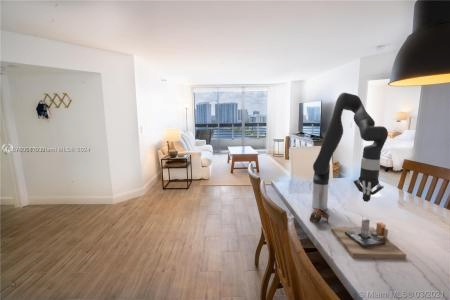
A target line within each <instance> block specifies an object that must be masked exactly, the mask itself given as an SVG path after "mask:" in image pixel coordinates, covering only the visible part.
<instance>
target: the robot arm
mask: <svg viewBox="0 0 450 300" xmlns="http://www.w3.org/2000/svg"><path fill="white" fill-rule="evenodd" d="M344 110H345V111H351V112H352V113H353V114H354V115H353V122H354V123H355V124H356V126H357V127H358V129H359V134H360V138H361V139H362V140H363V141H365V142H372V144H370V145H366V146H363V149H362V158H361V163H360V170H359V171H360V172H359V177H358V179H356V180H353V184H354V185H355V186H356V188H357V190H358V191H359V192H360V193H362V200H363V202H365V203H368V202H369V201H371V196H374V195H376V194H377V193H379V191H381V190H383V189H384V185H381V184H380V181H379V175H380V168H381V156H382V155H381V154H382V149H383V148H384V145H385V143H386V142H387V139H388V136H389V131H388V129H387V128H386V127H385V126H381V125H380V126H379V125H377V126H376V123H375V120H374V119H373V118H372V116H371V115H370V114H369V113H368V111H366V109H365V106H364V104H363V102H362V100H361V98H360V97H359V96H358V95H357V94H353V93H349V92H342V93H340V94H339V95H338V96H337V99H336V101H335V105H334V108H333V110H332V111H333V112H332V115H331V119H330V121H329V124H328V127H327V128H326V131H325V134H324V137H323V140H322V143H321V146H320V150H319V153H318V155H317V157H316V159H315V161H314V163H313V165H312V169H313V172H314V174H313V180H312V202H311V207H312V208H313V209H314V210H317V209H321V210H322V211H326V210H327V209H328V202H329V201H328V200H329V198H328V197H329V181H330V172H331V169H330V168H331V164H330V162H331V159H332V156H333V154H334V153H335V151H336V150H337V148H338V146H339V144H340V142H341V139H342V137H343V135H344V127H343V122H342V116H343V111H344ZM375 187H376V189H374V188H375ZM373 189H374V190H373Z"/></svg>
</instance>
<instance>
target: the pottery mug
mask: <svg viewBox="0 0 450 300" xmlns="http://www.w3.org/2000/svg"><path fill="white" fill-rule="evenodd" d="M329 217H330V215H329V214H328V213H326V212H325V210H321V209H314V210H313V211H312V213H311V214H310V216H309V221H310V222H311V223H312V224H314V223H315V224H320V221H321V220H322V218H324V219H325V220H327V221H326V224H328V222H329Z"/></svg>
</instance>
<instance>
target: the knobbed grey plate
mask: <svg viewBox="0 0 450 300" xmlns="http://www.w3.org/2000/svg"><path fill="white" fill-rule="evenodd" d="M386 226H387V225H386V224H385V223H383V222H377V223H376V228H375V229H376V232H370V231H369V234H368V238H369V239H363V238H361V237H360V236H361V229H359V230H351V231H345V234H346V235H348V236H349V237H350V238H352V239H353V240H354V241H355V242H357V243H358V244H359V245H361V246H362V247H369V246H377V245H385V244H386V242H385V241H384V240H382V239H380V238H379V237H377V236H383V234H384V229H386Z"/></svg>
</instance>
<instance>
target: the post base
mask: <svg viewBox="0 0 450 300" xmlns="http://www.w3.org/2000/svg"><path fill="white" fill-rule="evenodd" d="M370 221H371V220H370V219H369V218H366V217H365V218H364V217H363V218H361V227H360V226H359V227H358V226H357V227H355V226H340V227H339V226H331V227H330V232H331V233H332V234H333V236H334V237H335V238H336V240H337V241H338V242H339V243H340V244H341V246H342V247H343V248H344V249H345V250H346V252H347V253H348V254H349V255H350V256H351V258H352V259H354V258H355V259H396V260H397V259H400V260H401V259H402V260H403V259H406V258H407V254H406V252H405V251H403V250H401V249H400V248H399V247H398V246H397V245H395V243H393V242H392V241H391V240H390V239H388V236H389V234H388V233H389V229H387V228H385V229H384V234H383V236H377V237H379V238H380V239H382V240H384V241H385V242H386V244H385V245H377V246H369V247H362V246H361V245H359V244H358V243H357V242H355V241H354V240H353V239H352V238H350V237H349V236H348V235H346V234H345V231H351V230H359V229H361V236H360V237H361V238H363V239H369V238H368V234H369V231H370V232H376V228H375V227H374V226H373V227H370Z"/></svg>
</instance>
